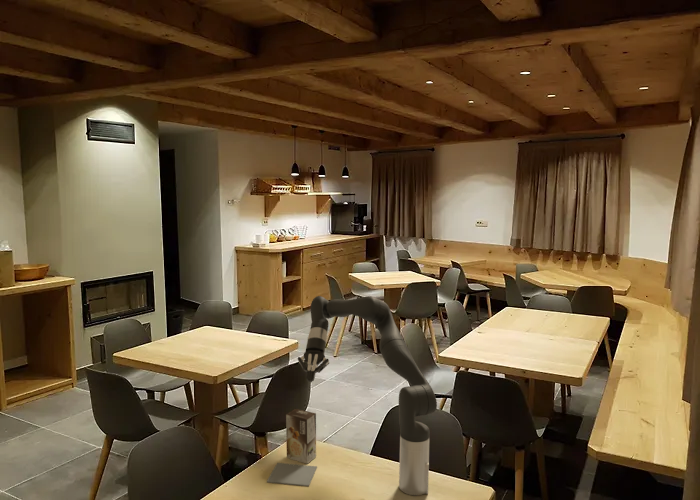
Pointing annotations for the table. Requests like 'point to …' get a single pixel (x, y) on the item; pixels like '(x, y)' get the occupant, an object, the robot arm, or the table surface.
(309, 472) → the rubber mat
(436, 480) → the table surface
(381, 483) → the table surface
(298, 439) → the coffee box
